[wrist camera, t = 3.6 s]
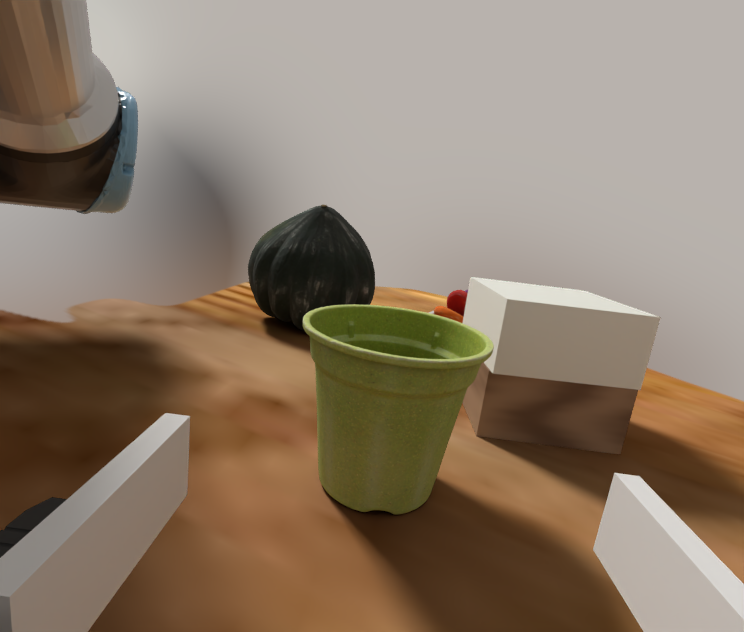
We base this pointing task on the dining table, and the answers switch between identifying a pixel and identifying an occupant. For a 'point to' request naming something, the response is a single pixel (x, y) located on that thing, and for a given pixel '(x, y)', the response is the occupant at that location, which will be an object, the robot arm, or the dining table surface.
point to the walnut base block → (549, 411)
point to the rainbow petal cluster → (453, 306)
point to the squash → (310, 266)
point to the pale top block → (561, 333)
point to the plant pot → (388, 399)
